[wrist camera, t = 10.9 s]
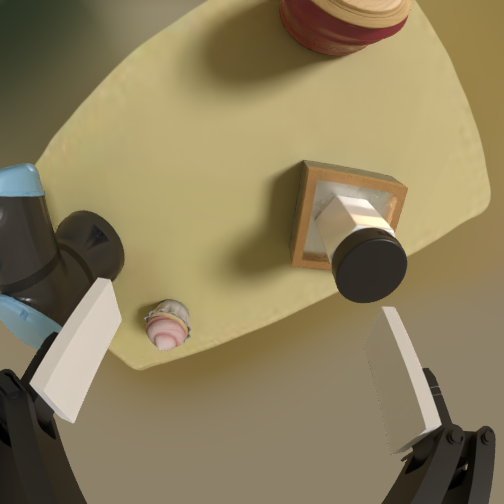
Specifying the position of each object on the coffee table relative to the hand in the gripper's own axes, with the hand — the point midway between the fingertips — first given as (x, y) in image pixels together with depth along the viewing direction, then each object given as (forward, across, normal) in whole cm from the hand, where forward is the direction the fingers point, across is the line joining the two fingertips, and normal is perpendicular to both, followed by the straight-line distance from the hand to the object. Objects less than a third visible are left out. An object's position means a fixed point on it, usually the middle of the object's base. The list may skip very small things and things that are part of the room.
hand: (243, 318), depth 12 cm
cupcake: (+29, -14, -29) cm, 43 cm away
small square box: (+29, +13, -5) cm, 32 cm away
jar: (+25, +13, -5) cm, 28 cm away
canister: (+29, +7, +24) cm, 38 cm away
